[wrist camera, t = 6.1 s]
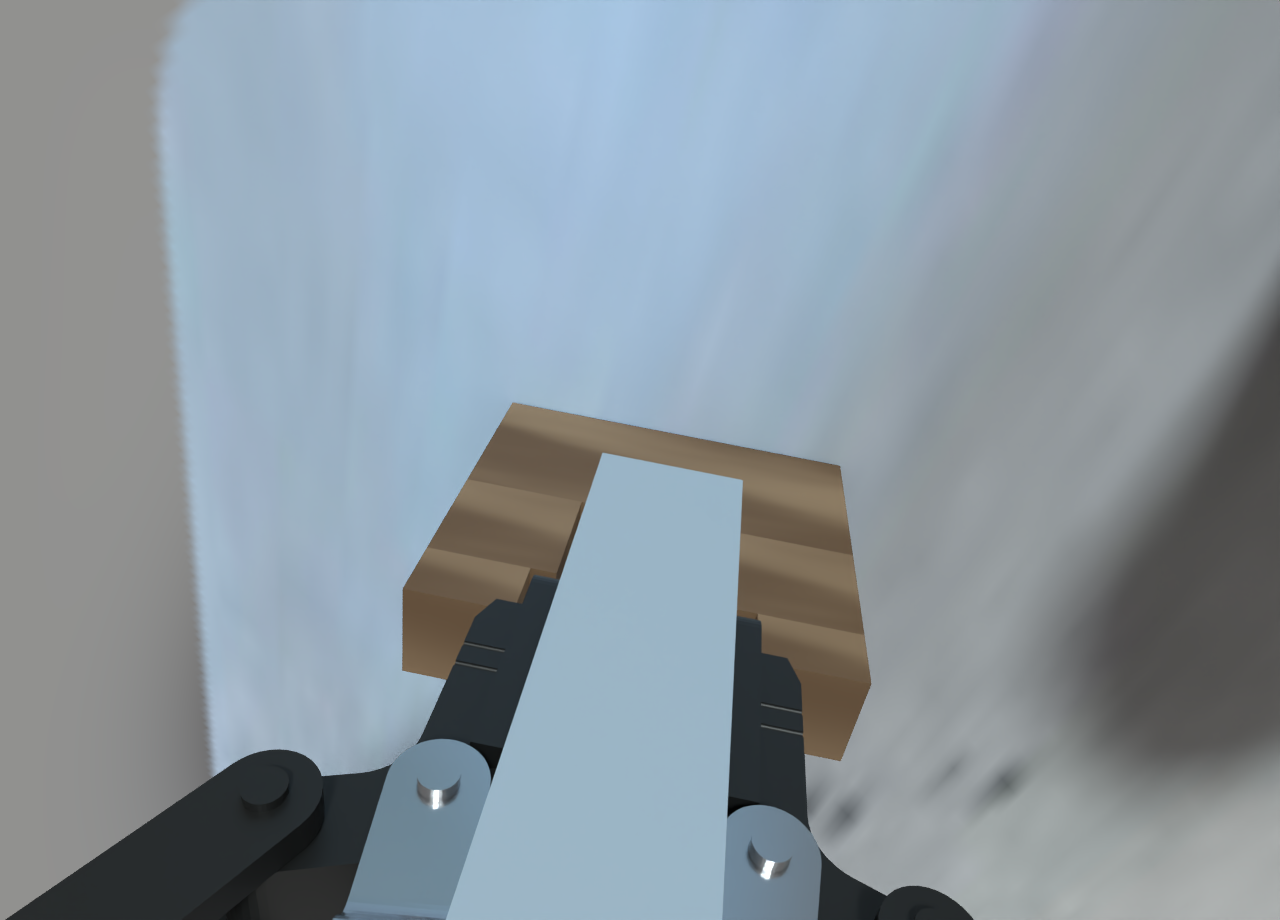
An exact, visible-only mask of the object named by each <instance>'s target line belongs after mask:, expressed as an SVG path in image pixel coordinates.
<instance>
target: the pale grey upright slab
mask: <svg viewBox="0 0 1280 920" xmlns="http://www.w3.org/2000/svg"><path fill="white" fill-rule="evenodd" d="M742 489H743V480H740V479H734V478H729V477H724V476H719V475H714V474H709V473H704V472H699V471H694V470H689V469H683V468H678V467H673V466H668V465H663V464H658V463H653V462H648V461H643V460H638V459H633V458H627V457H622V456H617V455H612V454H607V453H602V456H601V459H600V462H599V465H598V468H597V471H596V474H595V477H594V480H593V483H592V486H591V489H590V492H589V495H588V498H587V501H586V504H585V507H584V509H583V512H582V515H581V518H580V521H579V524H578V527H577V530H576V533H575V536H574V539H573V542H572V545H571V548H570V551H569V554H568V557H567V560H566V563H565V566H564V569H563V572H562V575H561V578H560V581H559V584H558V587H557V590H556V593H555V596H554V599H553V602H552V605H551V608H550V611H549V614H548V617H547V620H546V623H545V626H544V629H543V632H542V635H541V638H540V641H539V644H538V647H537V650H536V652H535V655H534V658H533V661H532V664H531V667H530V670H529V673H528V676H527V679H526V682H525V685H524V688H523V691H522V694H521V697H520V700H519V703H518V706H517V709H516V712H515V715H514V718H513V721H512V724H511V727H510V730H509V733H508V736H507V739H506V742H505V745H504V748H503V751H502V754H501V757H500V760H499V763H498V766H497V769H496V772H495V775H494V778H493V781H492V784H491V787H490V790H489V792H488V795H487V798H486V801H485V804H484V807H483V810H482V813H481V816H480V819H479V822H478V825H477V828H476V831H475V834H474V837H473V840H472V843H471V846H470V849H469V852H468V855H467V858H466V861H465V864H464V867H463V870H462V873H461V876H460V879H459V882H458V885H457V888H456V891H455V894H454V897H453V900H452V903H451V906H450V909H449V912H448V915H447V918H446V920H722V914H723V893H724V872H725V851H726V829H727V808H728V787H729V765H730V744H731V723H732V702H733V680H734V659H735V638H736V616H737V595H738V574H739V553H740V531H741V510H742Z"/></svg>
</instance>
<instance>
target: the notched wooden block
mask: <svg viewBox="0 0 1280 920" xmlns="http://www.w3.org/2000/svg"><path fill="white" fill-rule="evenodd" d="M602 453H607V454H612V455H617V456H622V457H627V458H633V459H638V460H643V461H648V462H653V463H658V464H663V465H668V466H673V467H678V468H683V469H689V470H694V471H699V472H704V473H709V474H714V475H719V476H724V477H729V478H734V479H740V480H743V489H742V510H741V531H740V553H739V574H738V595H737V616H741V617H746V618H751V619H756V620H760V621H761V624H762V651H761V653H765V654H770V655H775V656H780V657H785V658H788V660H789V662H790V664H791V666H792V667H793V669H794V671H795V673H796V675H797V677H798V679H799V681H800V683H801V690H802V715H803V737H804V754H808V755H813V756H818V757H823V758H828V759H833V760H837V761H841V759H842V756H843V754H844V751H845V749H846V746H847V744H848V741H849V739H850V736H851V734H852V731H853V729H854V726H855V724H856V721H857V719H858V716H859V714H860V711H861V709H862V706H863V704H864V701H865V699H866V696H867V694H868V691H869V689H870V686H871V678H870V671H869V664H868V657H867V650H866V643H865V636H864V629H863V622H862V615H861V608H860V601H859V595H858V588H857V581H856V574H855V567H854V560H853V553H852V546H851V539H850V532H849V525H848V518H847V511H846V504H845V497H844V491H843V484H842V477H841V470H840V466H837V465H832V464H827V463H822V462H817V461H812V460H806V459H801V458H796V457H791V456H786V455H781V454H775V453H770V452H765V451H760V450H755V449H750V448H744V447H739V446H734V445H729V444H724V443H719V442H713V441H708V440H703V439H698V438H693V437H688V436H683V435H677V434H672V433H667V432H662V431H657V430H652V429H646V428H641V427H636V426H631V425H626V424H621V423H615V422H610V421H605V420H600V419H595V418H590V417H584V416H579V415H574V414H569V413H564V412H559V411H553V410H548V409H543V408H538V407H533V406H528V405H522V404H517V403H512V405H511V406H510V408H509V410H508V411H507V413H506V415H505V417H504V418H503V420H502V422H501V423H500V425H499V427H498V428H497V430H496V432H495V433H494V435H493V437H492V439H491V440H490V442H489V444H488V445H487V447H486V449H485V450H484V452H483V454H482V455H481V457H480V459H479V461H478V462H477V464H476V466H475V467H474V469H473V471H472V472H471V474H470V476H469V477H468V479H467V481H466V483H465V484H464V486H463V488H462V489H461V491H460V493H459V494H458V496H457V498H456V499H455V501H454V503H453V505H452V506H451V508H450V510H449V511H448V513H447V515H446V516H445V518H444V520H443V521H442V523H441V525H440V527H439V528H438V530H437V532H436V533H435V535H434V537H433V538H432V540H431V542H430V543H429V545H428V547H427V549H426V550H425V552H424V554H423V555H422V557H421V559H420V560H419V562H418V564H417V565H416V567H415V569H414V571H413V572H412V574H411V576H410V577H409V579H408V581H407V582H406V584H405V586H404V587H403V657H402V671H407V672H412V673H417V674H422V675H427V676H431V677H436V678H441V679H446V680H447V678H448V676H449V674H450V671H451V669H452V667H453V665H455V661H456V658H457V656H458V654H459V651H460V649H461V647H462V645H463V644H464V640H465V638H466V636H467V633H468V631H469V629H470V627H471V624H472V622H473V620H474V618H475V616H476V615H478V614H479V613H480V612H481V611H482V610H484V609H485V608H486V607H487V606H488V605H489V604H491V603H492V602H493V601H494V600H495V599H501V600H506V601H511V602H516V603H521V604H522V603H523V601H524V598H525V595H526V593H527V590H528V587H529V585H530V582H531V580H532V578H533V576H534V575H539V576H544V577H549V578H554V579H559V580H560V578H561V575H562V572H563V569H564V566H565V563H566V560H567V557H568V554H569V551H570V548H571V545H572V542H573V539H574V536H575V533H576V530H577V527H578V524H579V521H580V518H581V515H582V512H583V509H584V507H585V504H586V501H587V498H588V495H589V492H590V489H591V486H592V483H593V480H594V477H595V474H596V471H597V468H598V465H599V462H600V459H601V456H602Z"/></svg>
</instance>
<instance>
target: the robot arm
mask: <svg viewBox="0 0 1280 920" xmlns="http://www.w3.org/2000/svg"><path fill="white" fill-rule="evenodd" d="M559 581H560V580H559V579H554V578H549V577H544V576H539V575H534V576H533V578H532V580H531V582H530V585H529V587H528V590H527V593H526V595H525V598H524V601H523V603H522V604H521V603H516V602H511V601H506V600H501V599H495V600H494V601H493V602H492V603H491V604H489V605H488V606H487V607H486V608H485V609H484V610H482V611H481V612H480V613H479V614H478V615H476V616H475V618H474V620H473V622H472V624H471V627H470V629H469V631H468V633H467V636H466V638H465V640H464V644H463V645H462V647H461V649H460V651H459V654H458V656H457V658H456V661H455V665H453V667H452V669H451V671H450V674H449V676H448V678H447V680H446V683H445V685H444V687H443V689H442V692H441V694H440V696H439V698H438V701H437V703H436V705H435V707H434V710H433V712H432V714H431V716H430V719H429V721H428V723H427V725H426V727H425V730H424V732H423V734H422V736H421V738H420V740H419V741H418V743H417V744H416V745H414V746H412V747H411V748H409V749H407V750H406V751H404V752H403V753H402V754H401V755H400V756H399V757H398V758H397V759H396V760H395V761H394V762H393V764H391V765H389V766H386V767H384V768H381V769H378V770H375V771H371V772H365V773H356V774H344V775H332V776H321V773H320V771H319V769H318V767H317V766H316V764H315V763H314V762H313V761H312V760H310V759H309V758H307V757H306V756H304V755H302V754H300V753H297V752H293V751H289V750H267V751H262V752H258V753H254V754H251V755H249V756H246V757H244V758H242V759H240V760H238V761H237V762H235V763H233V764H232V765H230V766H229V767H227V768H226V769H224V770H223V771H222V772H220V773H219V774H217V775H216V776H214V777H213V778H211V779H210V780H208V781H207V782H206V783H204V784H203V785H201V786H200V787H198V788H197V789H195V790H194V791H192V792H191V793H189V794H188V795H187V796H185V797H184V798H182V799H181V800H179V801H178V802H176V803H175V804H173V805H172V806H171V807H169V808H168V809H166V810H165V811H163V812H162V813H160V814H159V815H157V816H156V817H155V818H153V819H152V820H150V821H149V822H147V823H146V824H144V825H143V826H142V827H140V828H139V829H137V830H136V831H134V832H133V833H131V834H130V835H128V836H127V837H125V838H124V839H122V840H121V841H119V842H118V843H117V844H115V845H114V846H112V847H111V848H109V849H108V850H106V851H105V852H103V853H102V854H100V855H99V856H98V857H96V858H95V859H93V860H92V861H90V862H89V863H87V864H86V865H84V866H83V867H82V868H80V869H79V870H77V871H76V872H74V873H73V874H71V875H70V876H68V877H67V878H65V879H64V880H63V881H61V882H60V883H58V884H57V885H55V886H54V887H52V888H51V889H49V890H48V891H47V892H45V893H44V894H42V895H41V896H39V897H38V898H36V899H35V900H33V901H32V902H30V903H29V904H28V905H26V906H25V907H23V908H22V909H20V910H19V911H17V912H16V913H14V914H13V915H12V916H10V917H9V918H7V919H6V920H446V918H447V915H448V912H449V909H450V906H451V903H452V900H453V897H454V894H455V891H456V888H457V885H458V882H459V879H460V876H461V873H462V870H463V867H464V864H465V861H466V858H467V855H468V852H469V849H470V846H471V843H472V840H473V837H474V834H475V831H476V828H477V825H478V822H479V819H480V816H481V813H482V810H483V807H484V804H485V801H486V798H487V795H488V792H489V790H490V787H491V784H492V781H493V778H494V775H495V772H496V769H497V766H498V763H499V760H500V757H501V754H502V751H503V748H504V745H505V742H506V739H507V736H508V733H509V730H510V727H511V724H512V721H513V718H514V715H515V712H516V709H517V706H518V703H519V700H520V697H521V694H522V691H523V688H524V685H525V682H526V679H527V676H528V673H529V670H530V667H531V664H532V661H533V658H534V655H535V652H536V650H537V647H538V644H539V641H540V638H541V635H542V632H543V629H544V626H545V623H546V620H547V617H548V614H549V611H550V608H551V605H552V602H553V599H554V596H555V593H556V590H557V587H558V584H559ZM761 651H762V624H761V621H760V620H756V619H751V618H746V617H741V616H736V638H735V659H734V680H733V702H732V723H731V744H730V765H729V787H728V808H727V829H726V851H725V872H724V893H723V914H722V920H973V918H972V917H971V916H970V915H969V914H968V913H967V911H966V910H965V909H964V908H963V907H961V906H960V905H959V904H958V903H957V902H955V901H954V900H952V899H951V898H949V897H948V896H946V895H944V894H942V893H940V892H938V891H936V890H933V889H930V888H927V887H922V886H906V887H901V888H899V889H896V890H894V891H893V892H891V893H890V894H889V895H888V896H886V895H884V894H882V893H880V892H878V891H876V890H874V889H872V888H871V887H869V886H867V885H865V884H863V883H861V882H859V881H858V880H856V879H854V878H852V877H850V876H849V875H847V874H845V873H844V872H843V871H841V870H840V869H839V868H837V867H836V866H835V865H834V864H833V863H832V862H831V861H830V860H829V859H828V858H827V857H826V856H825V855H824V854H823V852H822V851H821V850H820V848H819V847H818V845H817V842H816V841H815V839H814V837H813V835H812V834H811V831H810V827H809V824H808V817H807V798H806V776H805V755H804V737H803V715H802V690H801V683H800V681H799V679H798V677H797V675H796V673H795V671H794V669H793V667H792V666H791V664H790V662H789V660H788V658H785V657H780V656H775V655H770V654H765V653H761Z"/></svg>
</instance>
